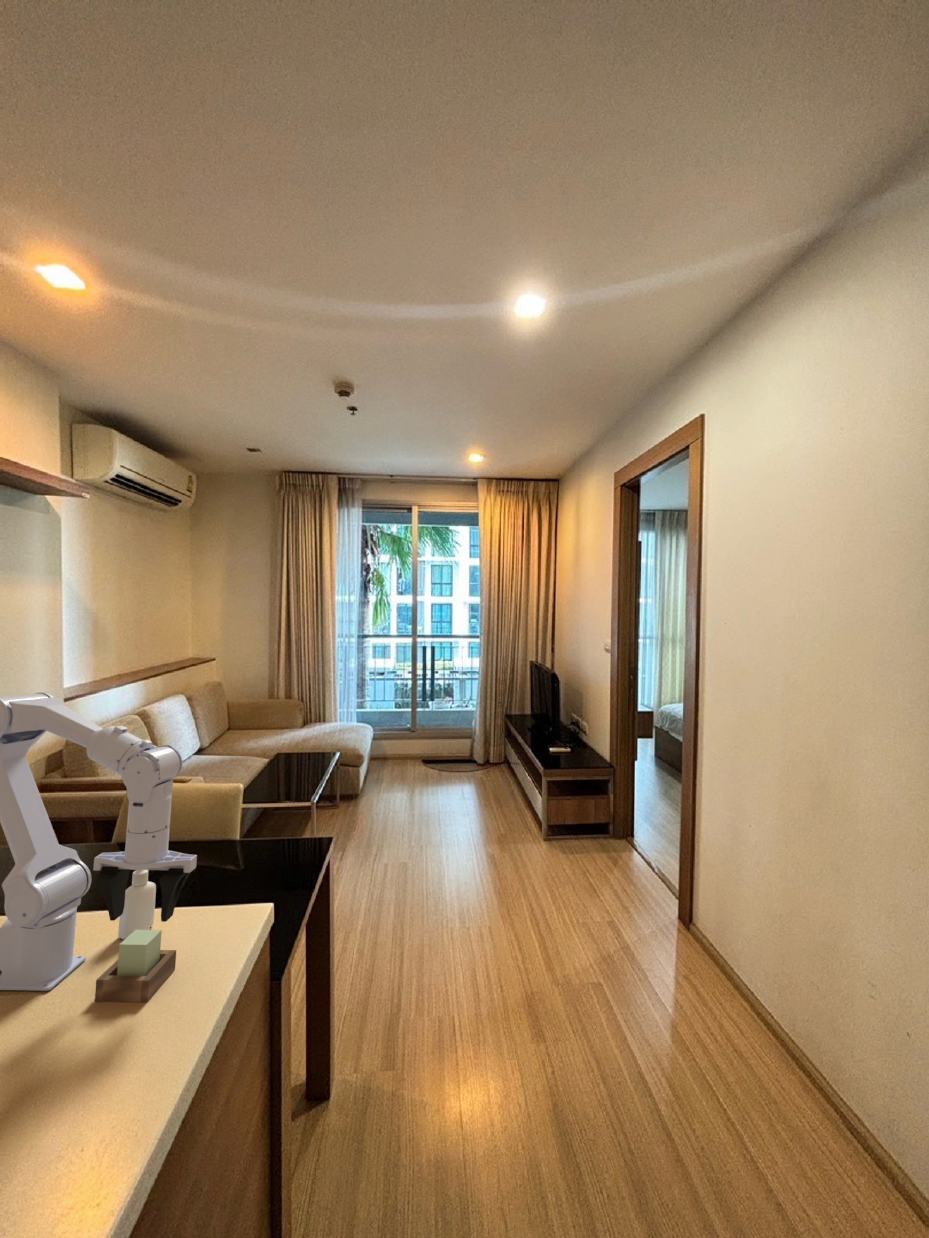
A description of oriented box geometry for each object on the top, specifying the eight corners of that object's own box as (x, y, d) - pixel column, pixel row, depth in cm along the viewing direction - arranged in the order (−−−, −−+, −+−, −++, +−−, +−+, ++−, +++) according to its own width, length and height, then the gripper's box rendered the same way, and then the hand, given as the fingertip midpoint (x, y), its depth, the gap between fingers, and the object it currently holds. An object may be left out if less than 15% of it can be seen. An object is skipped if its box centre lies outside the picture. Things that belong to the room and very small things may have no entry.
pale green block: (115, 993, 75) (119, 944, 76) (132, 975, 79) (135, 929, 80) (143, 993, 76) (146, 944, 76) (158, 976, 79) (161, 929, 80)
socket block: (94, 1001, 73) (96, 979, 74) (127, 968, 81) (128, 949, 81) (147, 1001, 74) (149, 980, 74) (175, 969, 81) (176, 950, 81)
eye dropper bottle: (115, 932, 91) (120, 863, 91) (151, 922, 94) (156, 856, 95) (119, 943, 87) (125, 872, 88) (156, 932, 91) (161, 863, 92)
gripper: (208, 819, 83) (202, 905, 82) (117, 817, 82) (110, 903, 82) (186, 835, 76) (179, 929, 75) (86, 832, 75) (79, 927, 75)
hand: (141, 917), depth 78 cm, fingers open, 7 cm apart
